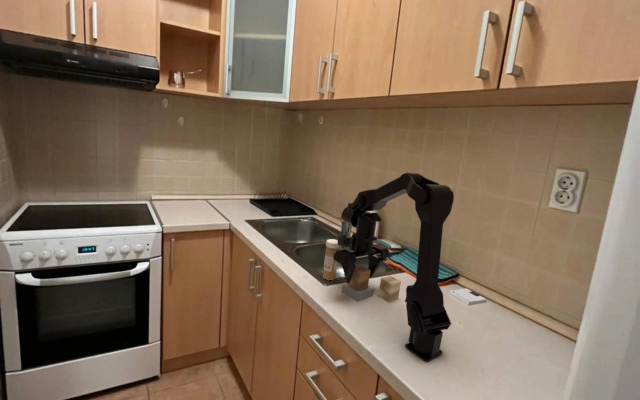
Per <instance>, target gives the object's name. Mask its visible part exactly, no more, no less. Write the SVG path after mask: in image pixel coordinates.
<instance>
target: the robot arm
mask: <svg viewBox="0 0 640 400" xmlns="http://www.w3.org/2000/svg"><path fill="white" fill-rule="evenodd" d="M405 194H407V196H408V198H410V199H412V200H413V201H414V209H415V212H416V214H417V217H418V219H419V220H420V228H419V229H420V230H419V242H418V244H419V245H418V255H417V267H416V278H415V282H414V283H413V284H410V285H407V286H406V289H405V293H406V294H405V300H404V302H405V303H406V305H405V307H406V315H407V325H408V326H409V327H410V330H409V336H408V337H409V338H408V343H406V344H405V346H404V347H405V348H406V349H407V350H408V351H410V352H412V353H413V354H415V355H416V356H417V357H419V358H420V359H422V360H423V361H424V362H427V363H428V362H430V361H432V360H433V359H435V358H437V357H439V356H441V355H443V353H444V352H443V350H442V349H441V344H442V339H443V333H444V331H445V330H449V329H450V327H451V325H452V322H451V320H450V318H449V315H448V313H447V310H446V307H445V305H444V304H445V302H444V294H443V291H442V289H441V286H440V285H439V273H440V262H441V250H442V239H443V228H444V223H445V222H446V220H447V219H448V217H449V215H450V214H451V211H452V208H453V203H454V199H455V193H454V191H453V190H452V189H451V187H449V186H448V185H445V184H441V183H439V182H437V181H434V180H432V179H430V178H427V177H425V176H424V175H422V174H420V173H418V172H404V173H402V174H401V175H400V176H399V177H397V178H395V179H393V180H390V181H389V182H388V183H385V184H383V185H381V186H379V187H378V188H373V189H367V190H362V191H359V192H358V194H357V196H356V197H355V199H354V201H352V202H348V203H347V206H346V207H344V209H343V210H342V211H341V214H340V215H341V216H340V217H341V220H342V221H343V222H344V223H346V224H347V225H349V226H352V227H353V228H355V229H356V230H355V232H353V233H352V234H351V236H347V235H346V234H342V235H338V236H337V240H338V245H339V247H341V248H342V249H338V251H336V252H334V258H333V259H334V260H336V261H337V264H340V265H341V268H342V270H343V273H344V274H343V275H344V278H345V282H346V283H350V281H351V278H352V275H353V272H354V270H355V267H356V266H357V265H356V264H355V263H356V262H357V259H360V258H364V257H367V258H368V265H367V269H369V270H371V271H370V277H369V279H371V278H372V277H373V275H374V274H375V273H376V271H377V270H378V269H379V268H380V266H381V265H382V264H383V262H385V261H386V259H389V256H390V251H389V248H388V247H385V246H384V245H381V244H379V243H375V244H374V242H375V241H377V240H378V237H377V236H375V235H376V228H377V222H382V218H381V216H379V214H378V211H380V210H381V209H383V208H384V207H386V206H387V203H388V202H389V201H392V200H394V199H396V198H398V197H400V196H403V195H405ZM375 211H376V212H375ZM344 248H348V250H347V249H344ZM349 250H350V251H349Z"/></svg>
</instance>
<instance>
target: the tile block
mask: <svg viewBox="0 0 640 400" xmlns="http://www.w3.org/2000/svg"><path fill="white" fill-rule="evenodd" d="M340 292H341V293H342V294H343V295H344V296H347V297H348V298H350V299H352V300H354V301H355V302H358V303H359V302H360V301H363V300H367V299H369V298H371V297H373V295H374V288H373V287H371V286H370V285H368V288H367V289H364V290H360V291H357V290H355V289H353V288H352V287H350V286H349V285H348V283H347V282H346V283H342V285H341V291H340Z"/></svg>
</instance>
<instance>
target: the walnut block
mask: <svg viewBox="0 0 640 400" xmlns="http://www.w3.org/2000/svg"><path fill="white" fill-rule="evenodd" d="M370 271H371V270H369V269H368V267H365V266H363V265H361V264H359V265H356V267H355V270H354V272H353V275H352V278H351V281H350V283H348V285H349V286H350V287H352V288H353V289H355V290H357V291H360V290H364V289H367V288H368V286H369V283H370V278H369V277H370Z"/></svg>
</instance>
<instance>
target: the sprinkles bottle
mask: <svg viewBox="0 0 640 400" xmlns="http://www.w3.org/2000/svg"><path fill="white" fill-rule="evenodd" d="M338 250H340V246H339V245H338V239H334V238H331V239H327V240H326V241H325V254H324V261H323V262H324V263H323V274H322V279H323V280H325V279H326V280H325V281H329V280H332V281H335V280H336V278H337V277H336V275H337V269H338V268H337V266H338V262H337V261H336V260H334V259H333V258H334V252H336V251H338ZM334 279H335V280H334Z"/></svg>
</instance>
